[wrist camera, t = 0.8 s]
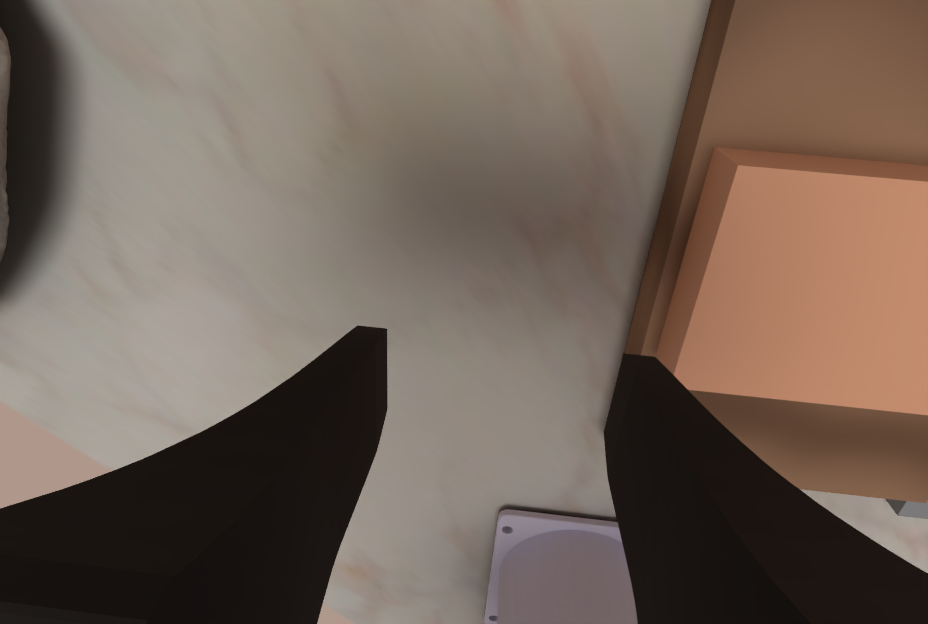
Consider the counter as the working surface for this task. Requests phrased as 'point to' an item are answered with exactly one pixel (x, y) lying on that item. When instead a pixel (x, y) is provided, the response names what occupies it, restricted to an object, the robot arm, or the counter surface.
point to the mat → (909, 508)
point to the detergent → (3, 137)
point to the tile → (805, 282)
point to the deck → (808, 133)
